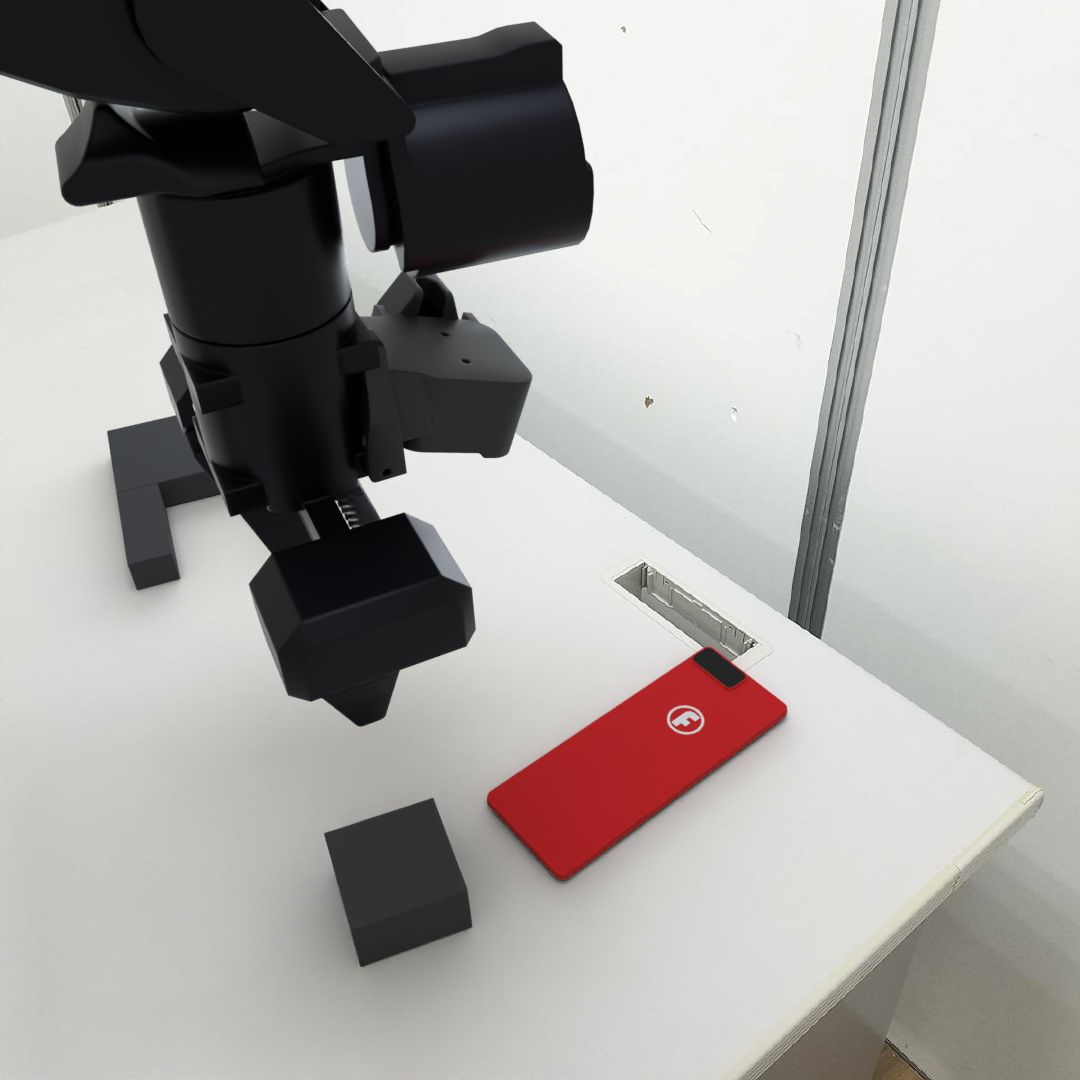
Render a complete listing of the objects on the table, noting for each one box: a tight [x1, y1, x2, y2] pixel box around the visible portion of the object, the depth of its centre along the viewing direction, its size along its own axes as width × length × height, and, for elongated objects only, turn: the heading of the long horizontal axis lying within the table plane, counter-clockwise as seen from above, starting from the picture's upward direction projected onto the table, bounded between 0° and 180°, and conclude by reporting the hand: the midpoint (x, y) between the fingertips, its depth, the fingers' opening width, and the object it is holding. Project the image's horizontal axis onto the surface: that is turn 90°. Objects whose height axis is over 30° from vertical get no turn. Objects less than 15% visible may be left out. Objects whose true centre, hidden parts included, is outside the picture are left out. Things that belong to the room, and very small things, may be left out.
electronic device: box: [486, 646, 788, 881], centre depth 56 cm, size 6×1×15 cm
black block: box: [323, 797, 473, 967], centre depth 50 cm, size 5×5×3 cm
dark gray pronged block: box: [106, 412, 221, 590], centre depth 72 cm, size 12×14×2 cm
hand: (334, 640), depth 46 cm, fingers open, 9 cm apart
